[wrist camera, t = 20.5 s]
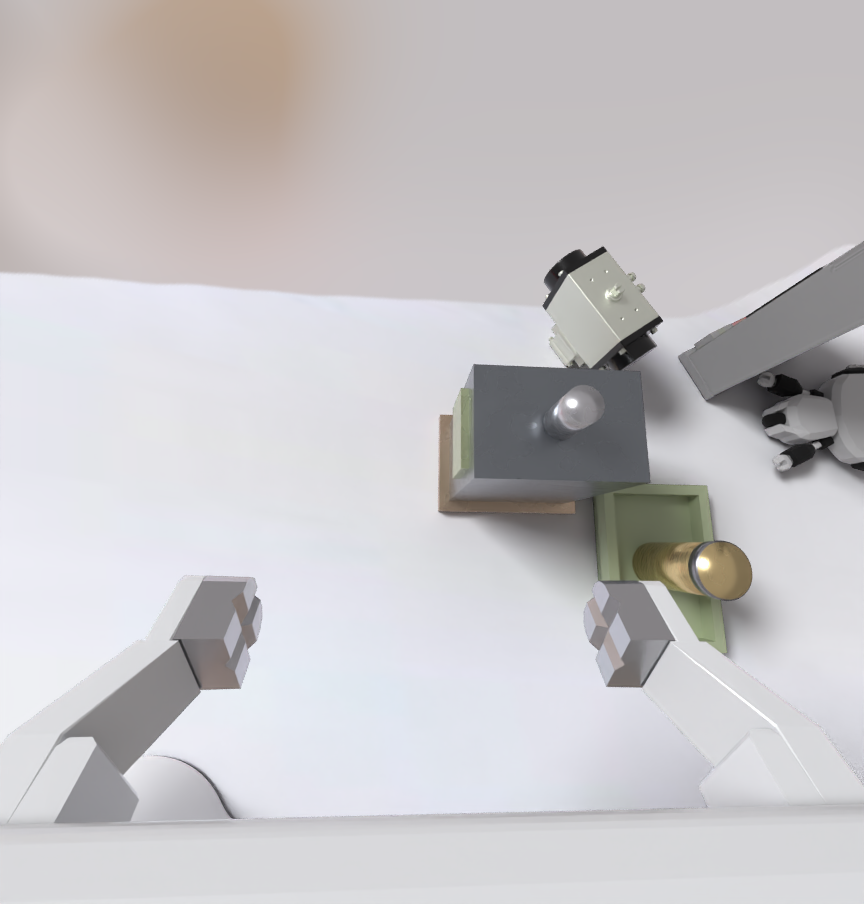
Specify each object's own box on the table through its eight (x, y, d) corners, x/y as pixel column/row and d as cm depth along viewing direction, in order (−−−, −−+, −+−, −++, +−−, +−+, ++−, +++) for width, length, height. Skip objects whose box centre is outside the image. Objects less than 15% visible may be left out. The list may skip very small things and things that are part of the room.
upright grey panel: (767, 310, 52) (1091, 103, 27) (796, 353, 51) (1160, 178, 26) (675, 355, 50) (938, 175, 25) (704, 401, 49) (1006, 259, 24)
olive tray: (708, 646, 43) (727, 653, 41) (602, 646, 42) (614, 653, 40) (690, 488, 46) (707, 485, 44) (592, 486, 46) (603, 483, 43)
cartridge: (677, 587, 43) (757, 600, 33) (633, 588, 43) (701, 601, 33) (672, 541, 44) (748, 540, 34) (629, 541, 44) (693, 540, 34)
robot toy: (755, 479, 48) (888, 477, 48) (787, 473, 44) (934, 470, 44) (737, 377, 51) (863, 374, 51) (766, 361, 46) (905, 358, 46)
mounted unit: (570, 514, 45) (707, 490, 25) (438, 511, 44) (468, 484, 24) (566, 422, 47) (688, 332, 27) (439, 417, 46) (468, 321, 26)
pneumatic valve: (582, 400, 48) (641, 354, 36) (521, 318, 49) (559, 248, 38) (620, 375, 49) (689, 322, 37) (559, 296, 50) (606, 221, 38)
